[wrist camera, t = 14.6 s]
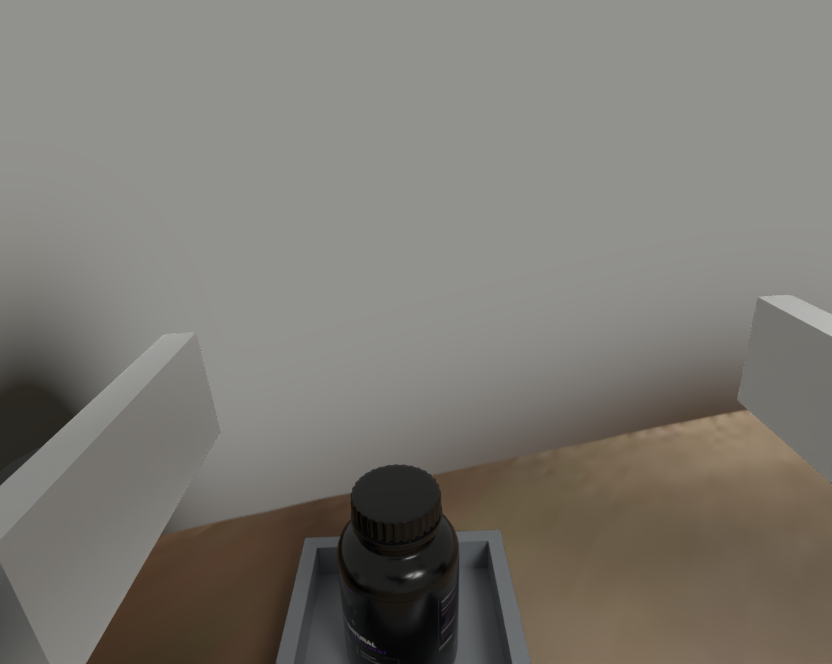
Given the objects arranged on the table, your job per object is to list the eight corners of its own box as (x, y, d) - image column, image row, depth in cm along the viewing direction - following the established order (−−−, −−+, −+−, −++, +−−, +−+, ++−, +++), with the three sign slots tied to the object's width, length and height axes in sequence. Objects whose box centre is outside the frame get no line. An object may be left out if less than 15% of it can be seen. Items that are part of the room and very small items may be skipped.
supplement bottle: (330, 693, 30) (307, 526, 26) (366, 594, 36) (353, 446, 32) (450, 717, 29) (447, 545, 24) (466, 610, 35) (466, 458, 30)
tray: (499, 562, 39) (500, 529, 38) (545, 782, 26) (549, 742, 25) (309, 570, 39) (305, 537, 38) (263, 794, 26) (253, 755, 25)
